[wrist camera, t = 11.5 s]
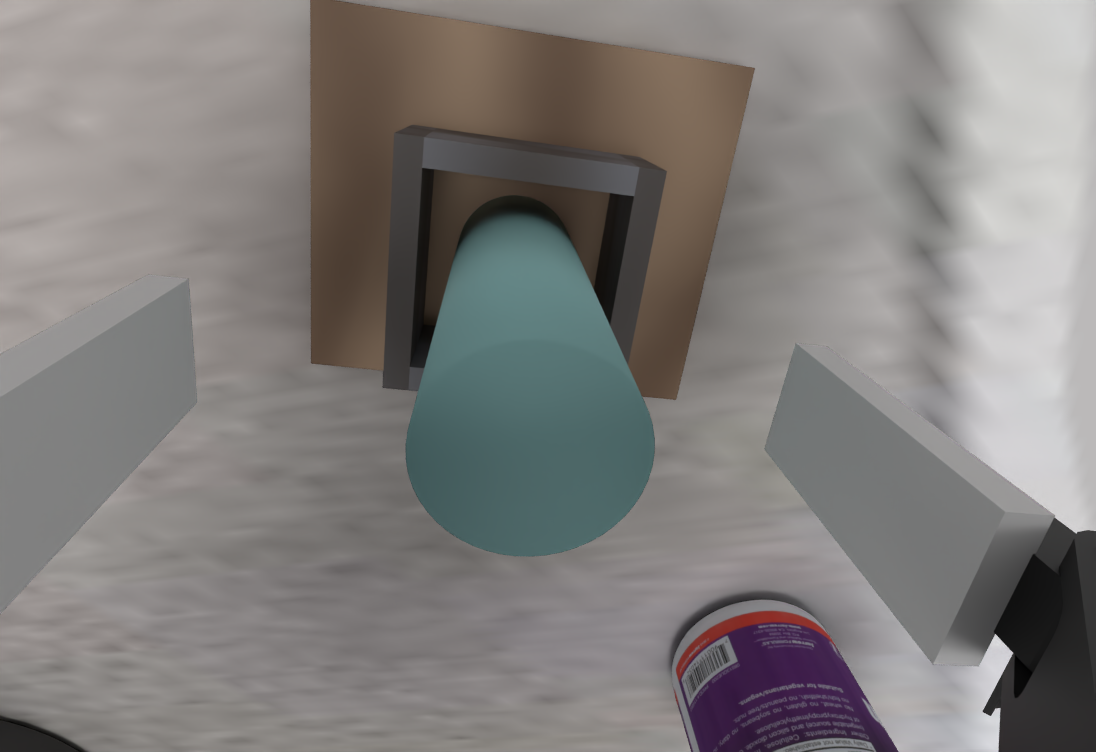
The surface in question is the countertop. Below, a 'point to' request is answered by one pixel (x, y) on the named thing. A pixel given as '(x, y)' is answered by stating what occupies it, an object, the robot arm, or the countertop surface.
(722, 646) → the pill bottle
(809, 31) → the countertop surface
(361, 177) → the bracket board
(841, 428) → the robot arm
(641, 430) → the dowel
